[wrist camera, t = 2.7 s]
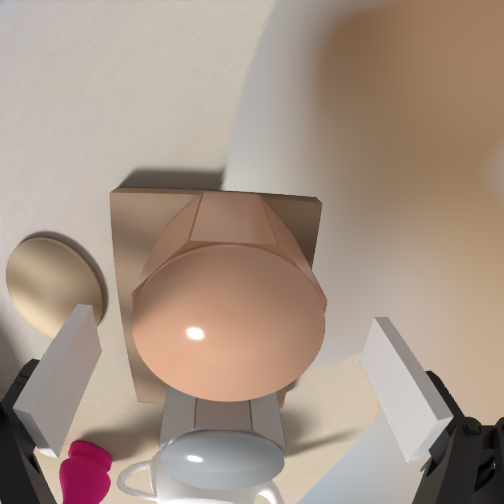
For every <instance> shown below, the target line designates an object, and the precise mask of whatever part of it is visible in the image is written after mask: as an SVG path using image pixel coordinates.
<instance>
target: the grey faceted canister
mask: <svg viewBox="0 0 504 504" xmlns="http://www.w3.org/2000/svg"><path fill="white" fill-rule="evenodd" d="M159 449H160V453H161V460H160V461H161V466H162V468H163V469H164V471H165V472H166V473H167V474H168V475H170V476H171V477H172V478H174V479H176V480H178V481H180V482H182V483H185V484H187V485H190V486H194V487H198V488H203V489H210V490H238V489H245V488H250V487H254V486H257V485H260V484H263V483H265V482H267V481H269V480H271V479H273V478H274V477H276V476H277V475H278V474H279V473H280V472H281V471H282V469H283V467H284V454H285V451H286V443H285V438H284V432H283V427H282V421H281V416H280V410H279V405H278V399H277V393H276V392H274V393H271V394H269V395H266V396H263V397H259V398H255V399H250V400H244V401H232V402H223V401H212V400H206V399H201V398H198V397H194V396H191V395H188V394H186V393H183V392H181V391H179V390H177V389H175V388H173V387H171V386H170V385H168V387H167V393H166V399H165V406H164V412H163V419H162V426H161V432H160V440H159Z"/></svg>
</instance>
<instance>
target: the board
mask: <svg viewBox="0 0 504 504" xmlns="http://www.w3.org/2000/svg"><path fill="white" fill-rule="evenodd" d="M204 191H207V192H227V193H244V194H258V196H259V195H260V196H261V198H262V199H263V200H264V201H265V202H266V203H267V204H268V206H269V207H270V208H271V209H272V210H273V211H274V212H275V214H276V215H277V216H278V217H279V218H280V219H281V221H282V222H283V223H284V224H285V225H286V226H287V228H288V229H289V230H290V231H291V232H292V234H293V236H294V238H295V240H296V241H297V243H298V245H299V247H300V249H301V251H302V253H303V255H304V256H305V258H306V260H307V262H308V264H309V266H310V268H311V270H312V264H313V259H314V253H315V247H316V241H317V235H318V228H319V222H320V215H321V209H322V203H321V202H320V201H319V200H318V199H317V198H316V197H306V196H295V195H283V194H268V193H254V192H239V191H222V190H201V189H175V188H132V187H117V188H116V189H114V190H113V191H111V192H110V209H111V227H112V240H113V252H114V263H115V272H116V281H117V289H118V297H119V304H120V311H121V318H122V324H123V330H124V336H125V342H126V348H127V353H128V358H129V363H130V368H131V373H132V378H133V382H134V387H135V391H136V395H137V400H138V402H142V403H151V404H161V405H165V399H166V393H167V387H168V384H167V383H165V382H164V381H162V380H161V379H160V378H159V377H157V376H156V375H155V374H154V373H153V372H152V371H151V370H150V369H149V367H148V366H147V365H146V364H145V362H144V361H143V359H142V358H141V356H140V354H139V352H138V350H137V347H136V345H135V342H134V338H133V333H132V316H133V302H132V291H133V289H134V287H135V285H136V283H137V281H138V279H139V276H140V274H141V272H142V270H143V268H144V266H145V264H146V262H147V260H148V258H149V256H150V254H151V252H152V250H153V248H154V246H155V244H156V243H157V241H158V239H159V237H160V235H161V233H162V231H163V229H164V227H165V226H166V225H167V224H168V223H169V222H170V221H171V220H172V219H173V218H174V217H176V216H177V215H178V214H179V213H180V212H181V211H182V210H183V209H184V208H185V207H186V206H188V205H189V204H190V203H191V202H192V201H193V200H194V199H195V198H196V197H197V196H199V195H200V194H201V193H202V192H203V193H204ZM287 387H288V385H287V386H286V387H284V388H282V389H280V390H278V391H276V393H277V399H278V405H279V408H282V407H283V403H284V399H285V395H286V391H287Z"/></svg>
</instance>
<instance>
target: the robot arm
mask: <svg viewBox="0 0 504 504" xmlns="http://www.w3.org/2000/svg"><path fill="white" fill-rule="evenodd" d="M101 352H102V350H101V346H100V342H99V337H98V333H97V328H96V323H95V318H94V313H93V307H92V305H84V304H77V306H76V307H75V309H74V310H73V311H72V313H71V314H70V316H69V317H68V319H67V320H66V322H65V323H64V325H63V326H62V328H61V329H60V331H59V332H58V334H57V335H56V337H55V338H54V340H53V341H52V343H51V344H50V346H49V347H48V349H47V351H46V352H45V354H44V355H43V357H42V358H41V360H37V359H32V360H30V361H29V362H28V363H27V364H25V365H24V366H23V368H22V369H21V371H20V372H19V375H18V376H17V377H16V379H15V380H14V383H13V384H12V385H11V387H10V389H9V390H8V392H7V394H6V395H5V397H4V399H3V400H2V402H1V401H0V500H1V503H2V504H57V503H56V501H55V499H54V497H53V495H52V493H51V491H50V488H49V486H48V484H47V482H46V480H45V477H44V475H43V473H42V471H41V468H40V466H39V463H38V461H37V459H36V456H35V455H34V453H33V451H34V449H35V446H37V448H38V449H39V451H40V452H41V454H44V455H48V456H51V457H54V458H57V459H58V458H59V455H60V452H61V449H62V447H63V444H64V441H65V439H66V436H67V433H68V431H69V428H70V425H71V423H72V420H73V418H74V415H75V413H76V410H77V408H78V405H79V403H80V400H81V398H82V396H83V393H84V391H85V388H86V386H87V384H88V381H89V379H90V377H91V375H92V372H93V370H94V368H95V366H96V363H97V361H98V359H99V357H100V354H101ZM360 363H361V365H362V367H363V369H364V371H365V373H366V375H367V377H368V379H369V381H370V384H371V386H372V388H373V390H374V392H375V394H376V396H377V398H378V401H379V403H380V405H381V407H382V409H383V411H384V414H385V416H386V418H387V420H388V422H389V424H390V426H391V429H392V431H393V433H394V436H395V438H396V440H397V442H398V445H399V447H400V449H401V451H402V454H403V456H404V458H405V461H406V463H408V462H412V461H416V460H419V459H422V458H423V457H424V455H425V454H426V453H427V452H428V450H429V452H430V454H431V457H430V458H429V460H428V461H427V462H426V463H425V464H424V466H423V467H422V468H421V470H420V471H423V470H424V469H425V471H424V474H423V477H422V480H421V482H420V485H419V487H418V490H417V493H416V495H415V498H414V500H413V502H412V504H504V417H502V418H500V419H499V421H498V422H497V423H496V424H495V425H494V426H493V425H491V426H490V425H486V426H485V425H484V426H483V425H481V423H480V422H479V421H478V420H476V419H474V418H472V417H465V416H464V415H463V413H462V411H461V410H460V408H459V407H458V405H457V403H456V402H455V401H454V399H453V397H452V396H451V394H449V391H448V390H447V388H446V387H445V385H444V384H443V382H442V381H441V379H440V378H439V377H438V376H437V375H436V374H434V373H433V372H432V371H424V369H423V368H422V366H421V365H420V363H419V362H418V360H417V359H416V357H415V356H414V354H413V353H412V351H411V350H410V348H409V347H408V345H407V344H406V342H405V341H404V340H403V338H402V337H401V335H400V334H399V332H398V331H397V330H396V328H395V327H394V325H393V324H392V322H391V321H390V320H389V318H388V317H374V319H373V322H372V325H371V329H370V332H369V335H368V338H367V341H366V344H365V347H364V350H363V352H362V355H361V358H360ZM494 463H495V467H494Z"/></svg>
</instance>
